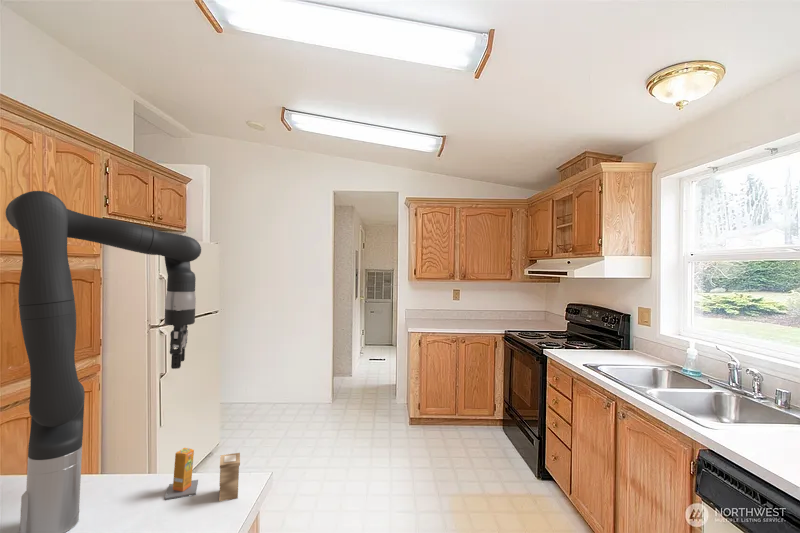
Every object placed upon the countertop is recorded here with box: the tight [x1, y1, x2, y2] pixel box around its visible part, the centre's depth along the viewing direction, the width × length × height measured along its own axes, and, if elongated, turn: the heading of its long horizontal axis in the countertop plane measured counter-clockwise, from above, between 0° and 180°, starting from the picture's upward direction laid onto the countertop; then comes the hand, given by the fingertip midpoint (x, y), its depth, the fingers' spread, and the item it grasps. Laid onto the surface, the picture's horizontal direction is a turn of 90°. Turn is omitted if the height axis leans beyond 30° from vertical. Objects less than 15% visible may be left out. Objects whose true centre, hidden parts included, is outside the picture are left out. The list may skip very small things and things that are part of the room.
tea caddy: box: [218, 452, 241, 502], centre depth 103 cm, size 5×6×9 cm
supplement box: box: [172, 447, 195, 492], centre depth 104 cm, size 3×3×10 cm
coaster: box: [164, 479, 199, 501], centre depth 104 cm, size 7×7×1 cm
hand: (178, 364), depth 110 cm, fingers open, 8 cm apart
